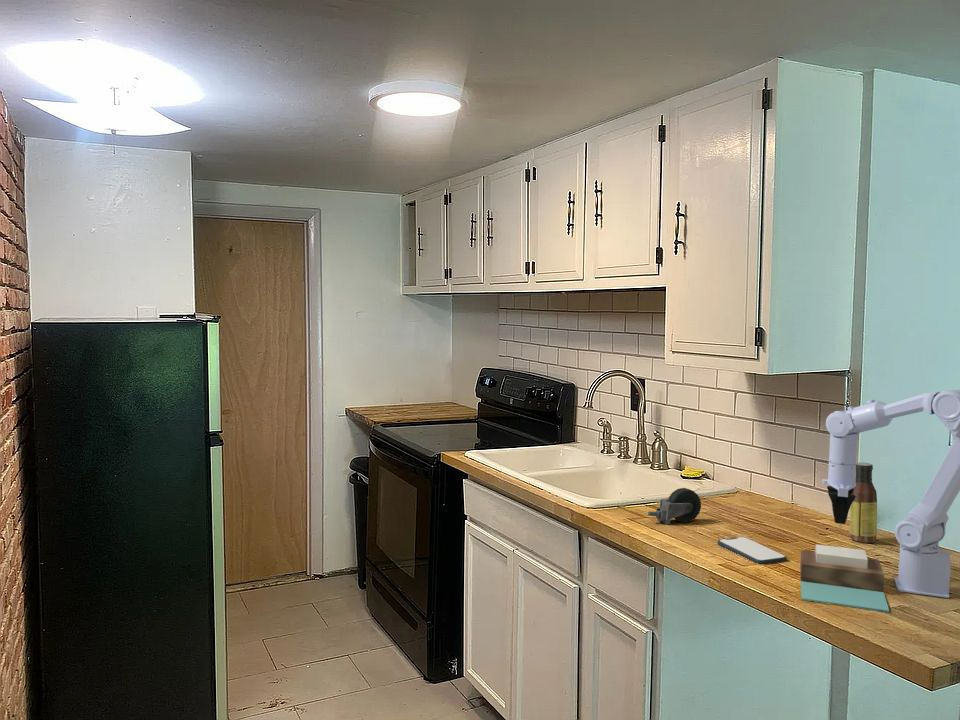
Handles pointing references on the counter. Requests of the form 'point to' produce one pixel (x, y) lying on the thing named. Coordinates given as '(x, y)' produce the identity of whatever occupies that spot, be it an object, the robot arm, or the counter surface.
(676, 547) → the counter surface
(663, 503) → the caster wheel
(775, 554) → the phone case
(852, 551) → the tile
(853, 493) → the sauce bottle
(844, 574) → the block
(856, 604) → the mat
